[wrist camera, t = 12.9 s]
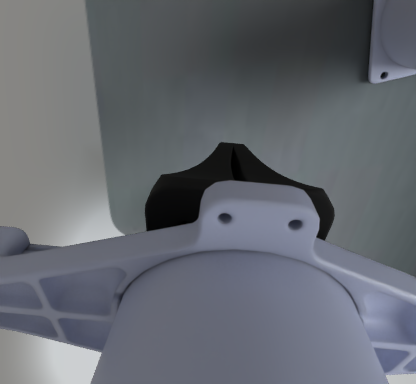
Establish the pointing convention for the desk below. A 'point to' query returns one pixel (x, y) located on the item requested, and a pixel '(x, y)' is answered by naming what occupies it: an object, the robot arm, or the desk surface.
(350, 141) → the desk surface
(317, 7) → the desk surface
